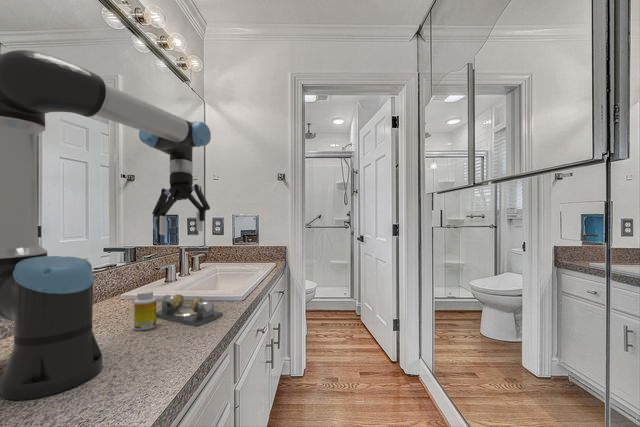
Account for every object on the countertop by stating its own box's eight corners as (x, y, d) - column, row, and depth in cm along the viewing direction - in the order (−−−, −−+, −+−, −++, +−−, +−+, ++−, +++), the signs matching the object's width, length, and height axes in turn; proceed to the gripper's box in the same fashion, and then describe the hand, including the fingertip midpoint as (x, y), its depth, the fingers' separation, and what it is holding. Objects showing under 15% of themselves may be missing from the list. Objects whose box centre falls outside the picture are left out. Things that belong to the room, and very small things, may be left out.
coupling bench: (197, 326, 87) (197, 304, 87) (152, 316, 96) (152, 296, 96) (222, 316, 96) (222, 296, 96) (179, 308, 105) (179, 289, 105)
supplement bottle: (158, 328, 86) (158, 292, 86) (135, 332, 83) (135, 295, 83) (154, 322, 90) (154, 288, 90) (132, 327, 87) (132, 291, 87)
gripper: (219, 173, 110) (220, 230, 106) (156, 181, 113) (155, 237, 109) (208, 166, 103) (209, 227, 99) (142, 175, 106) (140, 235, 102)
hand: (181, 232), depth 104 cm, fingers open, 13 cm apart
